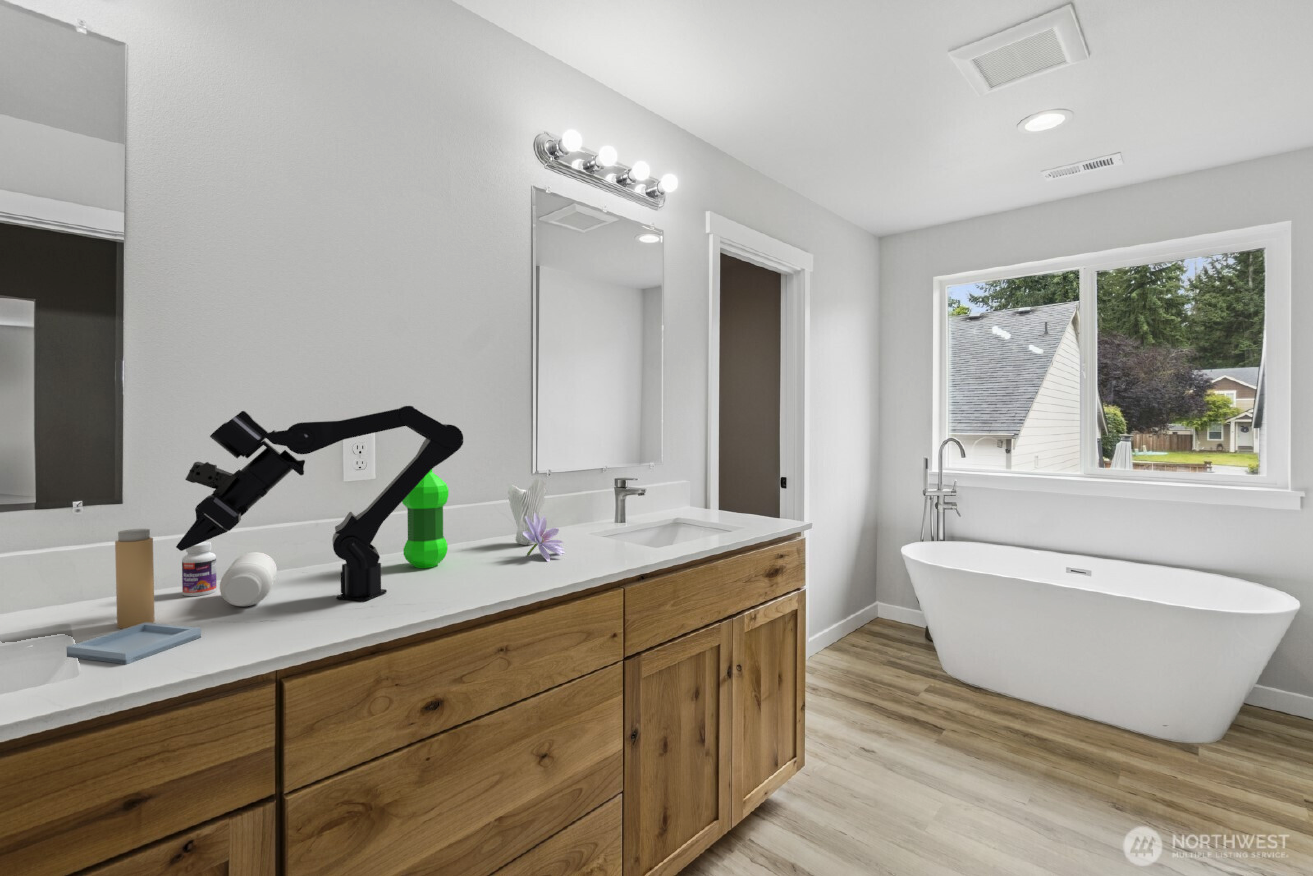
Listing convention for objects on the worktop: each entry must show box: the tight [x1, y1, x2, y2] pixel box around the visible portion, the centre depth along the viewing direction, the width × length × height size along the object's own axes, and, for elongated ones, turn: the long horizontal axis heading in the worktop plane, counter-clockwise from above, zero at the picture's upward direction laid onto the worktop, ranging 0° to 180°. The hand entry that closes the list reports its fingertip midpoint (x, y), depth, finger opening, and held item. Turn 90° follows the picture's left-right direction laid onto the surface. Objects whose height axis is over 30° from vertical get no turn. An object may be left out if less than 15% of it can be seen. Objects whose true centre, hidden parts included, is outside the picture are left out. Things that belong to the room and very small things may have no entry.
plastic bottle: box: [401, 468, 450, 569], centre depth 145 cm, size 10×10×25 cm
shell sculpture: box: [507, 477, 547, 546], centre depth 169 cm, size 8×8×18 cm
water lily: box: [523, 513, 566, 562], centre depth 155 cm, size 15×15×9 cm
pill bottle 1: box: [181, 541, 217, 597], centre depth 122 cm, size 5×5×10 cm
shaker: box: [114, 528, 156, 630], centre depth 104 cm, size 5×5×16 cm
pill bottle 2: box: [219, 551, 278, 608], centre depth 116 cm, size 8×8×15 cm
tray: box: [66, 622, 202, 665], centre depth 93 cm, size 11×11×2 cm
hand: (183, 544), depth 107 cm, fingers open, 9 cm apart
